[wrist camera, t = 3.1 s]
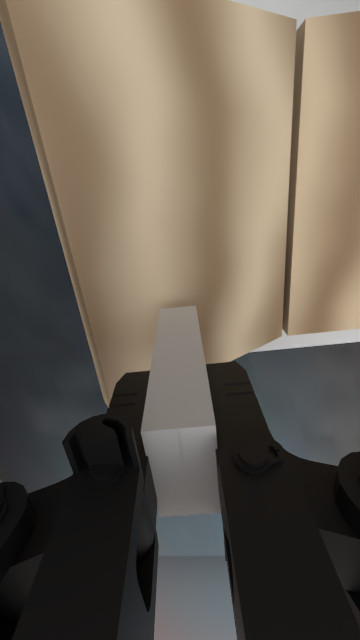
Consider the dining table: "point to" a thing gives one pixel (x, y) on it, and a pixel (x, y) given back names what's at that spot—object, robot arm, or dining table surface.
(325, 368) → the dining table surface
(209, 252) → the plank
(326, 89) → the laid section
